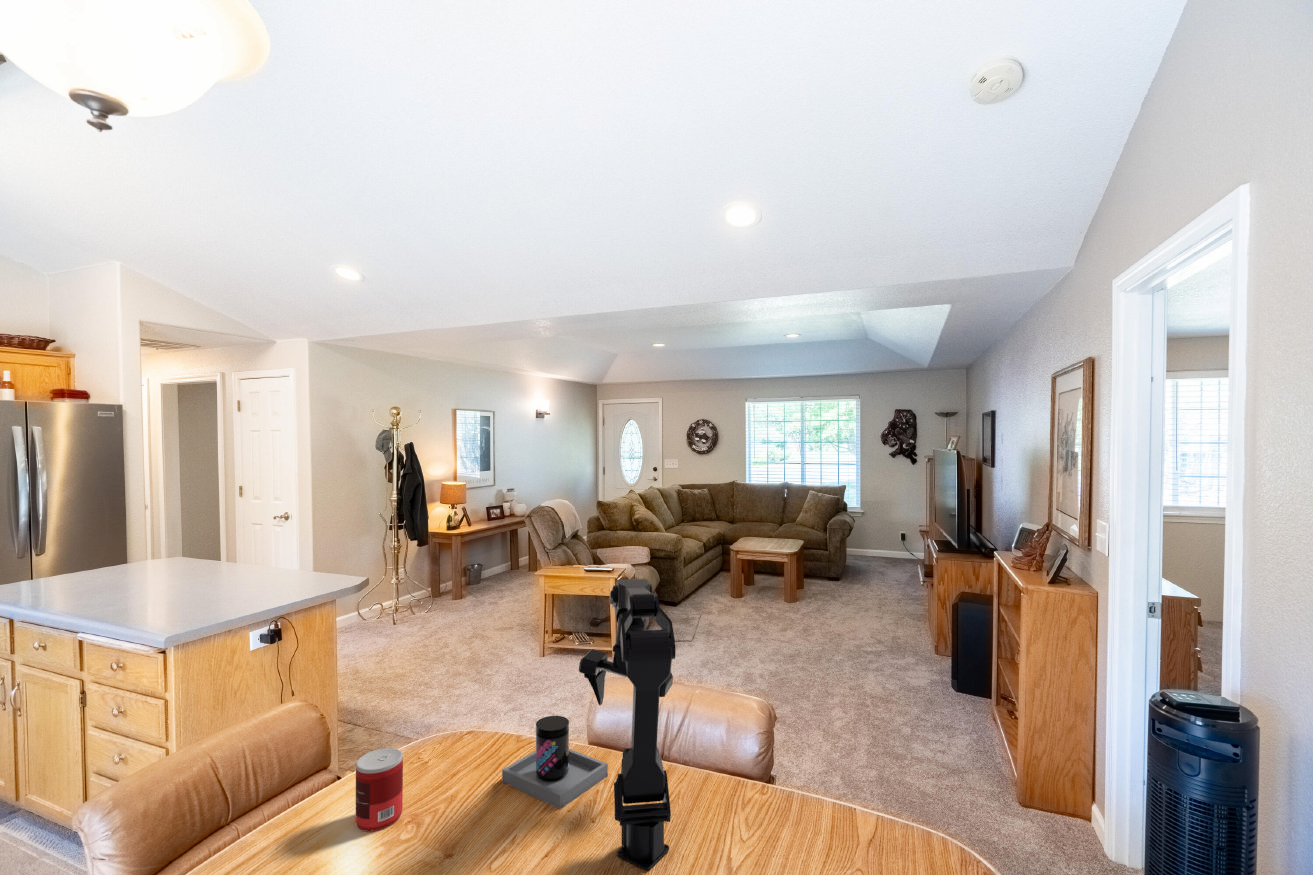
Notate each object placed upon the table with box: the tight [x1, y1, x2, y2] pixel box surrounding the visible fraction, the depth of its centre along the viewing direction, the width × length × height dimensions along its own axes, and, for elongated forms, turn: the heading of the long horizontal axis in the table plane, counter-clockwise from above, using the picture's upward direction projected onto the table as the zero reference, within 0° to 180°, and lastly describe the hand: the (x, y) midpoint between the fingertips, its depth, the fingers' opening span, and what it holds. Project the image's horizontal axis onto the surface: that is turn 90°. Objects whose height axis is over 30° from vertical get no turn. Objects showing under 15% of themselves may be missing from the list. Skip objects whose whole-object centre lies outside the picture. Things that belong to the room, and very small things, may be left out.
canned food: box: [355, 747, 404, 832], centre depth 112 cm, size 8×8×11 cm
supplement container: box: [535, 715, 570, 782], centre depth 125 cm, size 7×7×10 cm
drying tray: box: [501, 748, 609, 810], centre depth 125 cm, size 16×14×2 cm
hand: (621, 710), depth 126 cm, fingers open, 9 cm apart
